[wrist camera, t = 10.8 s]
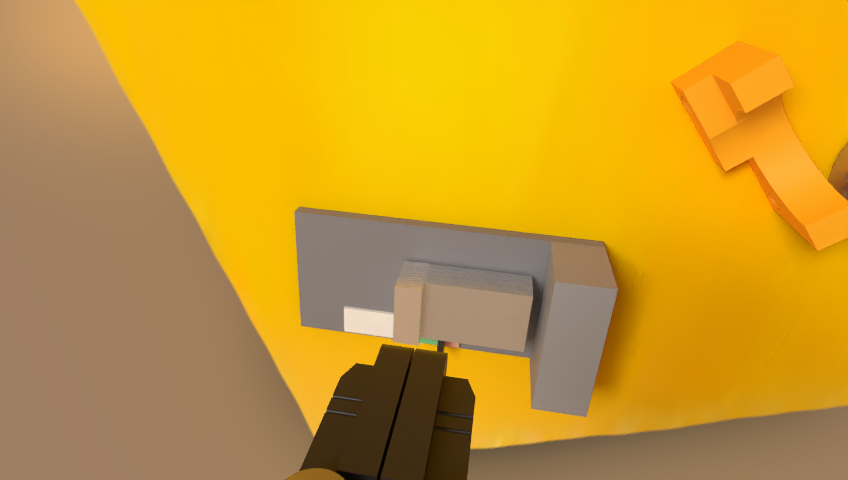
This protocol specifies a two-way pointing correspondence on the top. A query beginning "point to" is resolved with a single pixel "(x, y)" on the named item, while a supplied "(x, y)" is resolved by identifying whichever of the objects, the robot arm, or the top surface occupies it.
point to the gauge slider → (461, 306)
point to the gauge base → (468, 248)
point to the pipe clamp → (762, 137)
